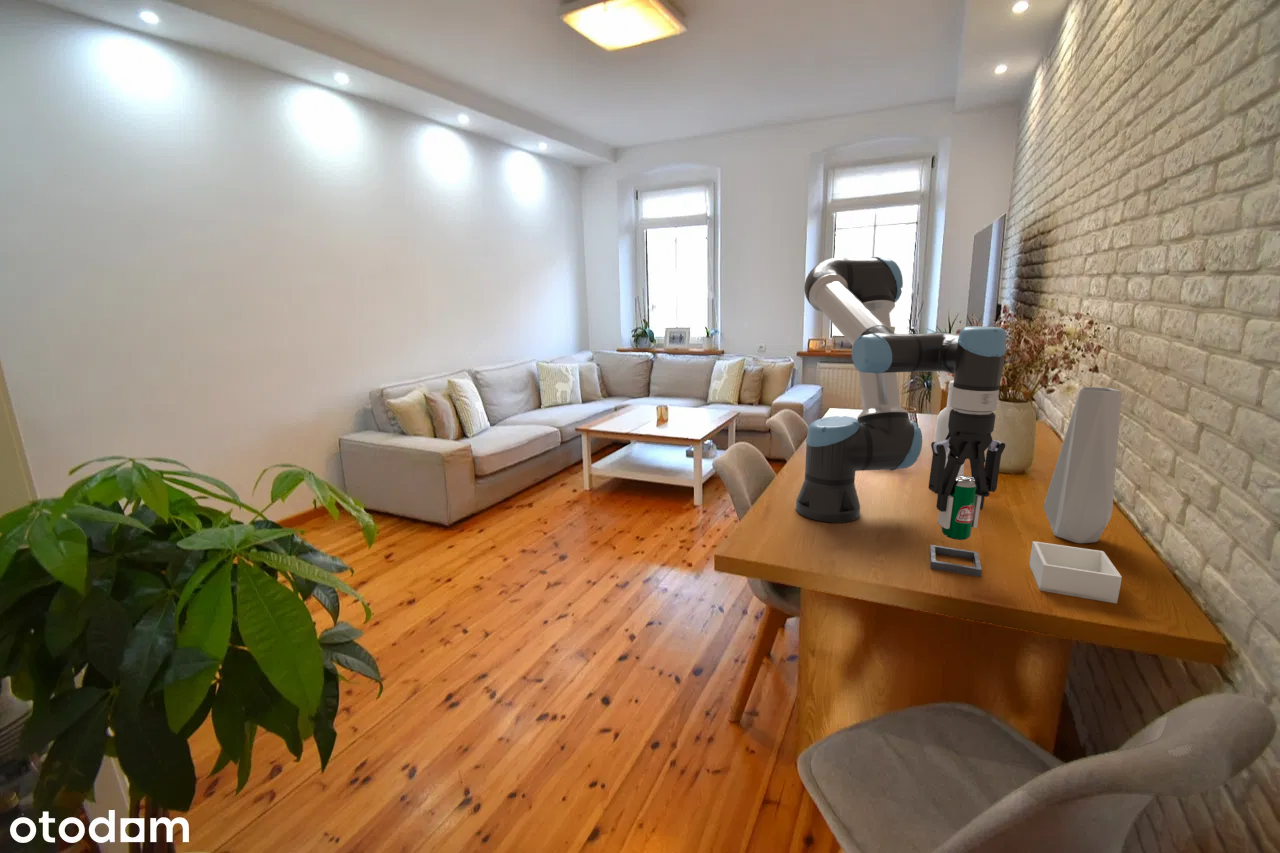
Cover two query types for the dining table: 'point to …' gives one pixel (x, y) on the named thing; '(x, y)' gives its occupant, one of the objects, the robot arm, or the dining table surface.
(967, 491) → the soda can
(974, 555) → the socket ring
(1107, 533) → the dining table surface
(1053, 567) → the bin
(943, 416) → the bottle
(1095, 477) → the vase
